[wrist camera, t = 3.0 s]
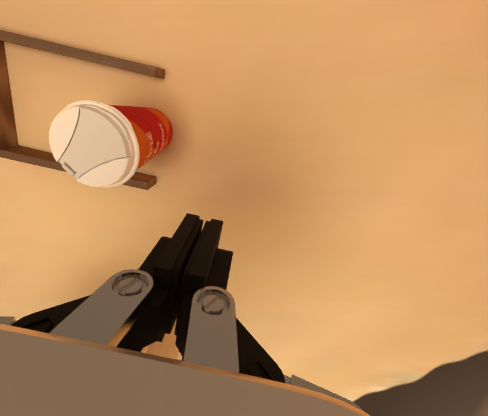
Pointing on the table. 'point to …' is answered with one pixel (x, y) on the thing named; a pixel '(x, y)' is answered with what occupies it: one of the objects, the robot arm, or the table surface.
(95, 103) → the paper cup
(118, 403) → the robot arm
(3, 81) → the u rest
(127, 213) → the table surface
